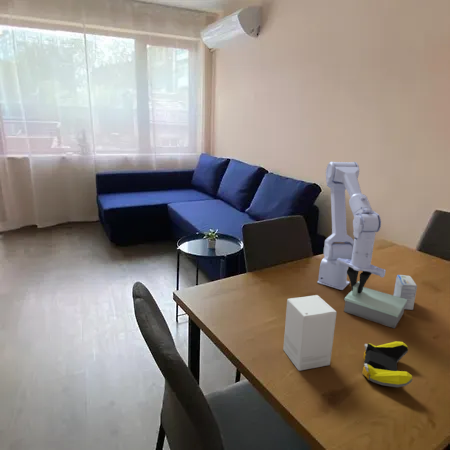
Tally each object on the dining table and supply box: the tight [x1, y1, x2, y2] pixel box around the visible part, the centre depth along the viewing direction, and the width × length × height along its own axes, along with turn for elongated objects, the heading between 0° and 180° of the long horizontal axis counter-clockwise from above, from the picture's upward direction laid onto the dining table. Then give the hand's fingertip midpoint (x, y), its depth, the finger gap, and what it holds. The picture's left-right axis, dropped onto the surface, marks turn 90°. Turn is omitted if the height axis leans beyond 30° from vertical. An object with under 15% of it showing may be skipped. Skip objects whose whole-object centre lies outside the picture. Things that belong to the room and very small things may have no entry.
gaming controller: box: [362, 341, 413, 388], centre depth 87 cm, size 15×6×10 cm
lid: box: [344, 280, 407, 317], centre depth 113 cm, size 16×12×5 cm
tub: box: [343, 300, 405, 329], centre depth 114 cm, size 15×11×4 cm
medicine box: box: [392, 274, 418, 311], centre depth 120 cm, size 8×4×9 cm, turn 168°
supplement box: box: [283, 294, 337, 372], centre depth 91 cm, size 9×9×15 cm
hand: (356, 291), depth 117 cm, fingers closed
